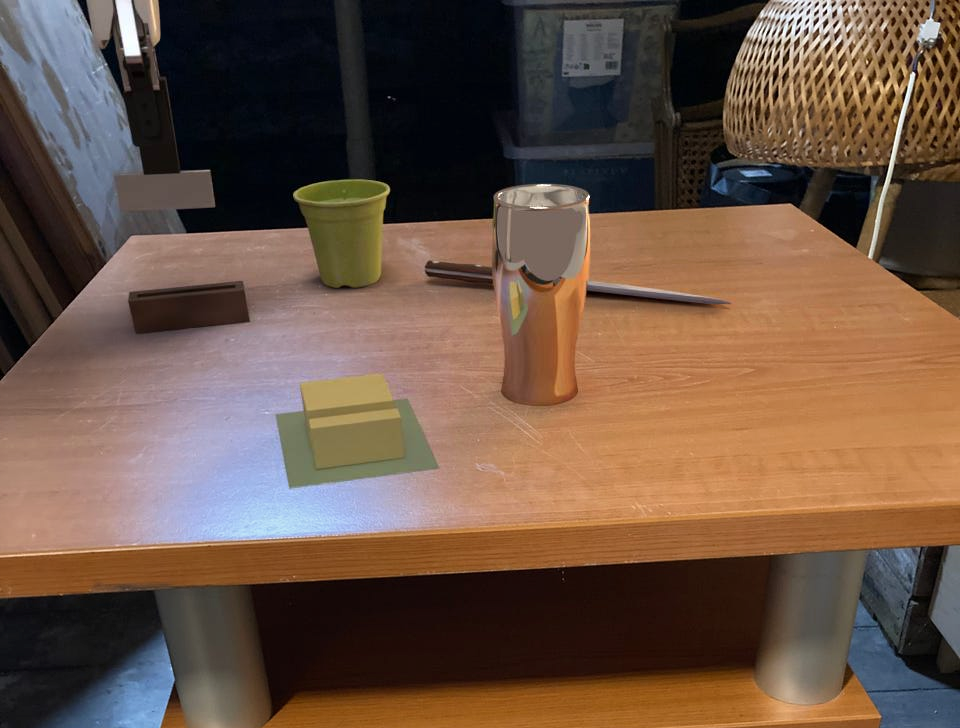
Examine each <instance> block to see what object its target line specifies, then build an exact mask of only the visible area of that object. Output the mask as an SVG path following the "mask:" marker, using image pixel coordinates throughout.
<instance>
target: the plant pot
mask: <svg viewBox="0 0 960 728" xmlns="http://www.w3.org/2000/svg"><path fill="white" fill-rule="evenodd" d="M390 192H391V188H390V186H389V185H388V184H387V183H384V182H381V181H376V180H371V179H370V180H368V179H355V178H354V179H338V180H327V181H320V182H316V183H311V184H308V185H305V186H302V187H300V188H298V189H297V190H295V191H294V192H293V194H292V196H293V199H294V201H295V202H297V203H298V206H299V209H300V212H301V214H302V216H303V217H304V219H305V223H306V225H307V230H308V233H309V237H310V238H309V239H310V241H311V244H312V249H313V252H314V256H315V261H316V264H317V268H318V272H319V276H320V279H321V282H322V284H324V285H325V286H328V287H331V288H335V289H337V288H338V289H339V288H341V287H342V286H348V287H350V288H353V289H356V288H357V289H358V288H362V287H366V286H369V285H373V284H375V283H376V282H378V281H379V279H380V277H381V276H382V259H383V258H382V257H383V226H384V211H385V210H386V205H387V197H388V196H389V194H390Z"/></svg>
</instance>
